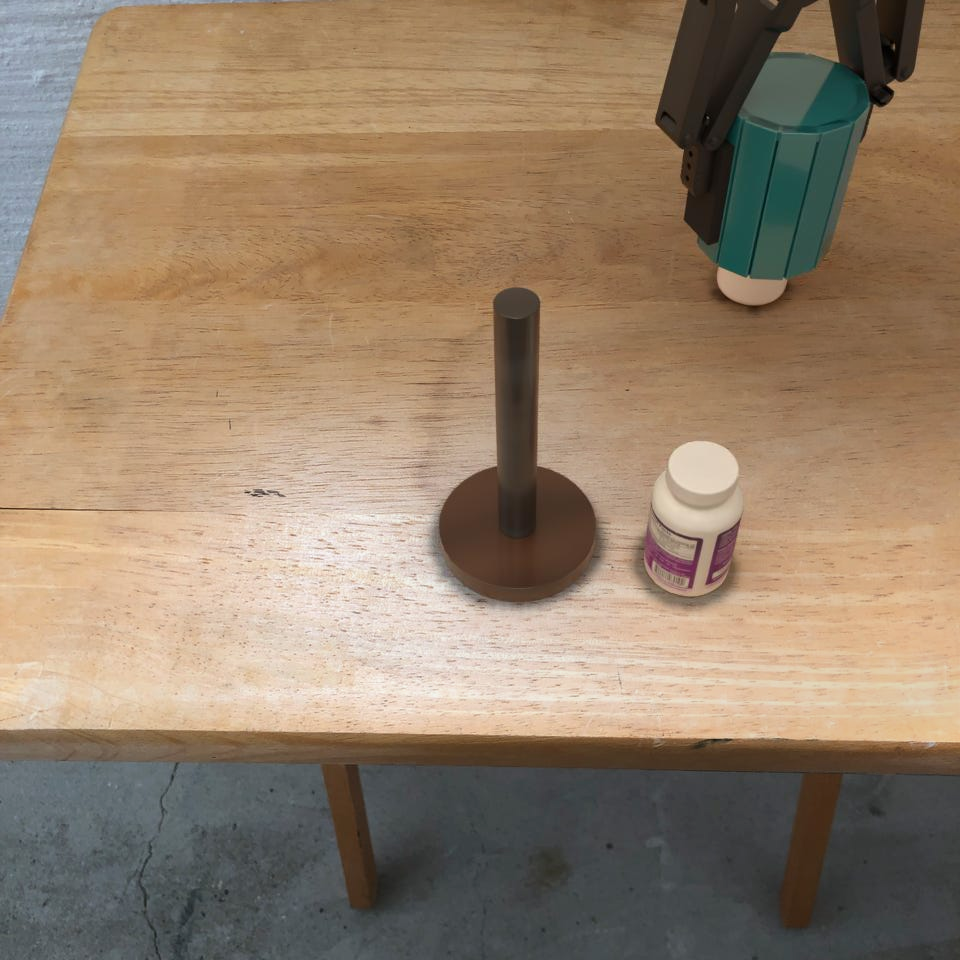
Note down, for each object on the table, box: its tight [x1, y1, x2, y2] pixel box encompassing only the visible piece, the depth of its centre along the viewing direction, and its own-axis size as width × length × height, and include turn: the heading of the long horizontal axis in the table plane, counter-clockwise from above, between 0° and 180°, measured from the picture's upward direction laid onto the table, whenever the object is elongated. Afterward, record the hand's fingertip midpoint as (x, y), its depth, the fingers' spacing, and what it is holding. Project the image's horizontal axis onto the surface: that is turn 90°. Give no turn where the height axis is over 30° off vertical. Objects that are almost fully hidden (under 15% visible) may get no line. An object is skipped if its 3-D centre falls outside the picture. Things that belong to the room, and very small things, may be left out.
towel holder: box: [438, 286, 597, 603], centre depth 63 cm, size 10×10×20 cm
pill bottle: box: [643, 440, 745, 597], centre depth 66 cm, size 5×5×10 cm
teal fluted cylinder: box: [695, 51, 870, 280], centre depth 64 cm, size 8×8×10 cm
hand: (762, 210), depth 67 cm, fingers closed on teal fluted cylinder, 8 cm apart
